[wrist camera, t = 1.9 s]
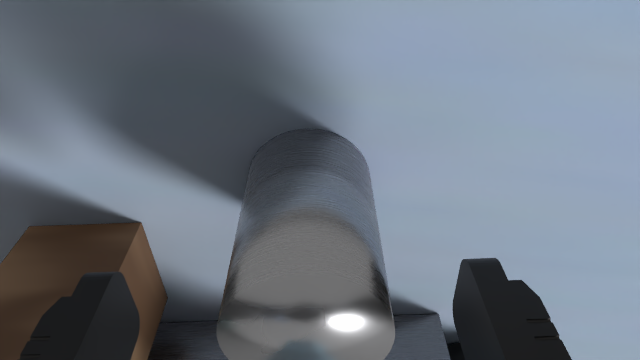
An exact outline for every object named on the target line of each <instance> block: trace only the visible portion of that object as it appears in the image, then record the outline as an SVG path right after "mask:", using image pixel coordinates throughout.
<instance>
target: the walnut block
mask: <svg viewBox="0 0 640 360" xmlns="http://www.w3.org/2000/svg"><path fill="white" fill-rule="evenodd" d="M93 272H121V273H122V274H123V275H124V277H125V280H126V282H127V285H128V287H129V290H130V292H131V294H132V297H133V299H134V302H135V304H136V307H137V309H138V312H139V316H140V330H139V336H138V339H137V342H136V345H135V348H134V351H133V354H132V357H131V360H147V359H148V356H149V353H150V350H151V347H152V344H153V341H154V338H155V335H156V332H157V329H158V326H159V323H160V320H161V317H162V314H163V311H164V308H165V305H166V302H167V299H168V297H167V294H166V291H165V288H164V286H163V283H162V280H161V277H160V274H159V271H158V268H157V266H156V263H155V260H154V257H153V254H152V251H151V249H150V246H149V243H148V240H147V237H146V234H145V231H144V229H143V226H142V223H141V222H140V223H112V224H84V225H55V226H29V227H28V229H27V230H26V231H25V232H24V234H23V235H22V236H21V238H20V239H19V240H18V242H17V243H16V244H15V246H14V247H13V248H12V250H11V251H10V252H9V254H8V255H7V256H6V258H5V259H4V260H3V261H2V263H1V264H0V360H17V359H20V354H21V352H22V350H23V349H24V347H25V345H26V343H27V341H30V336H31V334H32V333H33V331H34V329H35V327H36V326H37V324H38V322H39V320H40V318H41V317H42V315H43V314H44V313H45V312H46V311H47V310H48V309H49V308H50V307H51V306H52V305H54V304H55V303H56V302H57V301H58V300H59V299H60V298H61V297H67V296H72V294H73V292H74V290H75V288H76V286H77V284H78V282H79V281H80V279H81V277H82V276H83V275H84V274H86V273H93Z"/></svg>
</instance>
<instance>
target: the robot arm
mask: <svg viewBox="0 0 640 360" xmlns="http://www.w3.org/2000/svg"><path fill="white" fill-rule="evenodd" d="M453 318H454V324H455V328H456V331H457V334H458V338H459V341H460V344H461V347H462V351H463V354H464V357H465V360H572V359H571V357H570V356H569V354H568V352H567V350H566V348H565V346H564V344H563V342H562V340H560V339H559V334H558V332H557V330H556V328H555V326H554V324H553V322H552V323H551V321H550V316H549V314H548V313H547V311H546V309H545V307H544V305H543V303H542V301H541V299H540V297H539V296H538V295H537V294H536V293H535V292H534V291H533V290H531V289H530V288H529V287H528V286H527V285H526V284H525V283H524V282H523V281H522V280H510V281H508V279H507V277H506V275H505V272H504V270H503V268H502V266H501V264H500V262H499V261H498V260H497V259H496V258H481V259H463V260H462V262H461V265H460V270H459V274H458V279H457V284H456V289H455V294H454V299H453ZM139 330H140V316H139V312H138V309H137V307H136V304H135V302H134V299H133V297H132V294H131V292H130V290H129V287H128V285H127V282H126V280H125V277H124V275H123V274H122V273H121V272H93V273H86V274H84V275H83V276H82V277H81V279H80V281H79V282H78V284H77V286H76V288H75V290H74V292H73V294H72V296H67V297H61V298H60V299H59V300H58V301H57V302H56V303H55V304H54V305H52V306H51V307H50V308H49V309H48V310H47V311H46V312H45V313H44V314H43V315H42V317H41V318H40V320H39V322H38V324H37V326H36V327H35V329H34V331H33V333H32V334H31V336H30V341H27V343H26V345H25V347H24V349H23V350H22V352H21V354H20V359H17V360H131V357H132V354H133V351H134V348H135V345H136V342H137V339H138V336H139Z"/></svg>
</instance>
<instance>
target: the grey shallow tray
mask: <svg viewBox="0 0 640 360" xmlns="http://www.w3.org/2000/svg"><path fill="white" fill-rule="evenodd" d="M393 319H394V326H395V339H394V343H393V346H392V348H391V350H390V352H389V353H388V355H387V356H386V357H385V359H384V360H465V357H464V354H463V351H462V347H461V344H460V343H455V344H452V345H450V346H448V347H447V344H446V340H445V336H444V333H443V329H442V325H441V321H440V317H439V314H430V315H398V316H393ZM217 323H218V321H206V322H174V323H159V326H158V329H157V332H156V335H155V338H154V341H153V344H152V347H151V350H150V353H149V356H148V359H147V360H229V359H228V358H227V357H226V356H225V355H224V353H223V351H222V350H221V348H220V346H219V343H218V340H217V334H216V333H217Z"/></svg>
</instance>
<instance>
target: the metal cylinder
mask: <svg viewBox="0 0 640 360" xmlns="http://www.w3.org/2000/svg"><path fill="white" fill-rule="evenodd" d="M216 334H217V340H218V343H219V346H220V348H221V350H222V351H223V353H224V355H225V356H226V357H227V358H228V359H229V360H384V359H385V357H386V356H387V355H388V353H389V352H390V350H391V348H392V346H393V343H394V339H395V326H394V319H393V313H392V307H391V301H390V295H389V289H388V283H387V276H386V270H385V264H384V258H383V252H382V246H381V240H380V233H379V227H378V221H377V215H376V209H375V203H374V197H373V191H372V184H371V178H370V172H369V168H368V165H367V162H366V160H365V158H364V156H363V155H362V153H361V152H360V151H359V150H358V148H356V147H355V146H354V145H353V144H352V143H351V142H349V141H348V140H347V139H345V138H343V137H341V136H339V135H337V134H334V133H332V132H328V131H324V130H318V129H299V130H293V131H289V132H286V133H283V134H280V135H278V136H276V137H274V138H273V139H271V140H270V141H268V142H267V143H266V144H265V145H263V146H262V147H261V148H260V150H259V151H258V152H257V153H256V155H255V157H254V158H253V160H252V163H251V165H250V169H249V174H248V179H247V183H246V188H245V193H244V198H243V203H242V208H241V212H240V217H239V222H238V227H237V232H236V236H235V241H234V246H233V251H232V256H231V260H230V265H229V270H228V275H227V280H226V285H225V289H224V294H223V299H222V304H221V309H220V313H219V318H218V323H217V333H216Z"/></svg>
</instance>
